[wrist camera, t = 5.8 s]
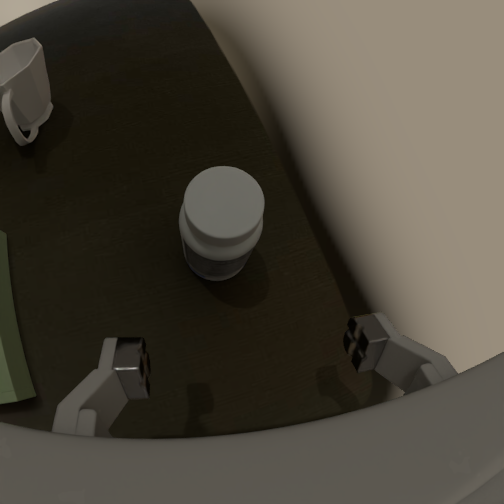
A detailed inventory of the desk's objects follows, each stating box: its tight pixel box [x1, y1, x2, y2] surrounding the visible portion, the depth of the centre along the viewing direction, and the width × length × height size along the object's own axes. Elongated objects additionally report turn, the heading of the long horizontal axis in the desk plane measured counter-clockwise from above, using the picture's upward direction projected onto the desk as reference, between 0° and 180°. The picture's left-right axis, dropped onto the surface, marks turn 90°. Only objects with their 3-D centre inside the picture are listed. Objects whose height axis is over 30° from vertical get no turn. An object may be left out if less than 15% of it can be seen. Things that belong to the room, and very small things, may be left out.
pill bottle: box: [179, 166, 264, 281], centre depth 19 cm, size 5×5×8 cm
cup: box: [0, 38, 53, 146], centre depth 20 cm, size 7×10×8 cm
